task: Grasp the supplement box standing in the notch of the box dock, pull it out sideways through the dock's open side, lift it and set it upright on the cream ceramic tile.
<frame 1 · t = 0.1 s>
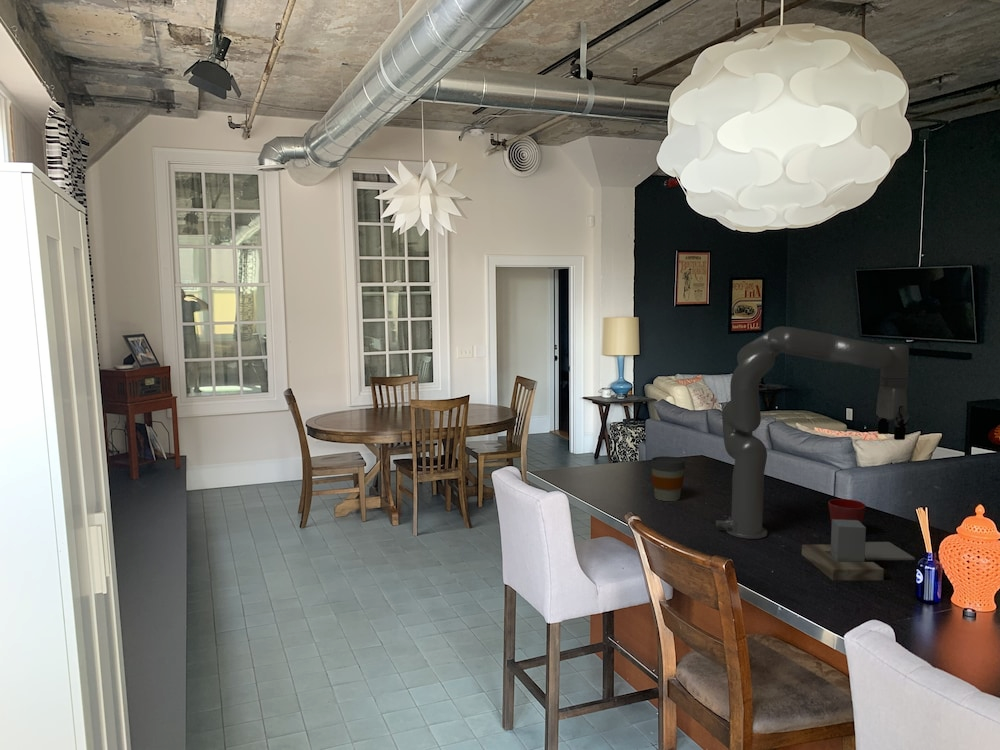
hand: (890, 436, 231), 31 cm above the counter, tool pointing down, fingers open, 9 cm apart
box dock: (846, 566, 205), on the counter
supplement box: (846, 567, 205), on the counter
reusable coffee cup: (667, 499, 275), on the counter
flower pot: (845, 533, 235), on the counter
tile: (877, 551, 217), on the counter
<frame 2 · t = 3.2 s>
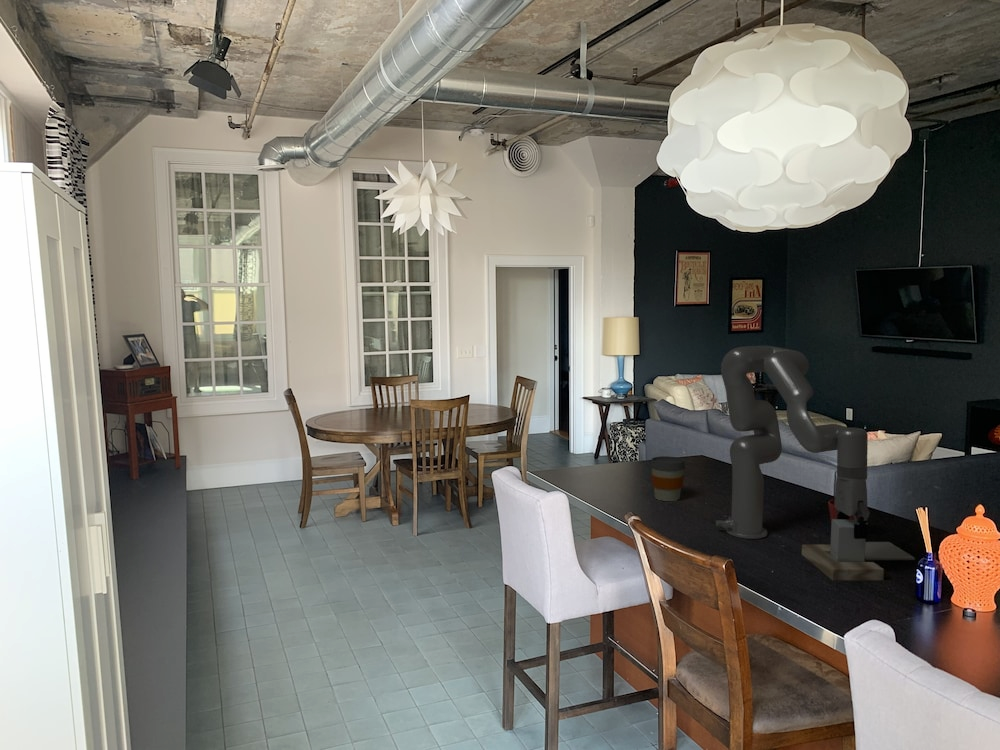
hand: (851, 533, 203), 10 cm above the counter, tool pointing down, fingers open, 9 cm apart
nothing on the counter moved.
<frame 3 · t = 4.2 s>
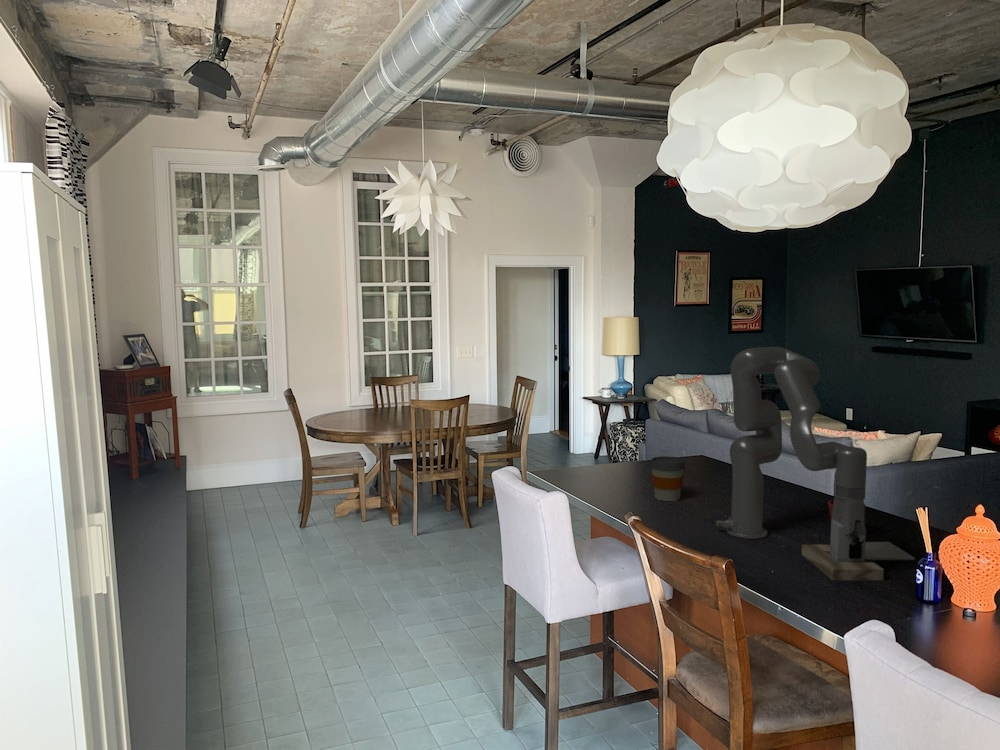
hand: (847, 552, 204), 4 cm above the counter, tool pointing down, fingers closed on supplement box, 8 cm apart
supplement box: (846, 567, 205), on the counter, touching gripper
everything else where it was.
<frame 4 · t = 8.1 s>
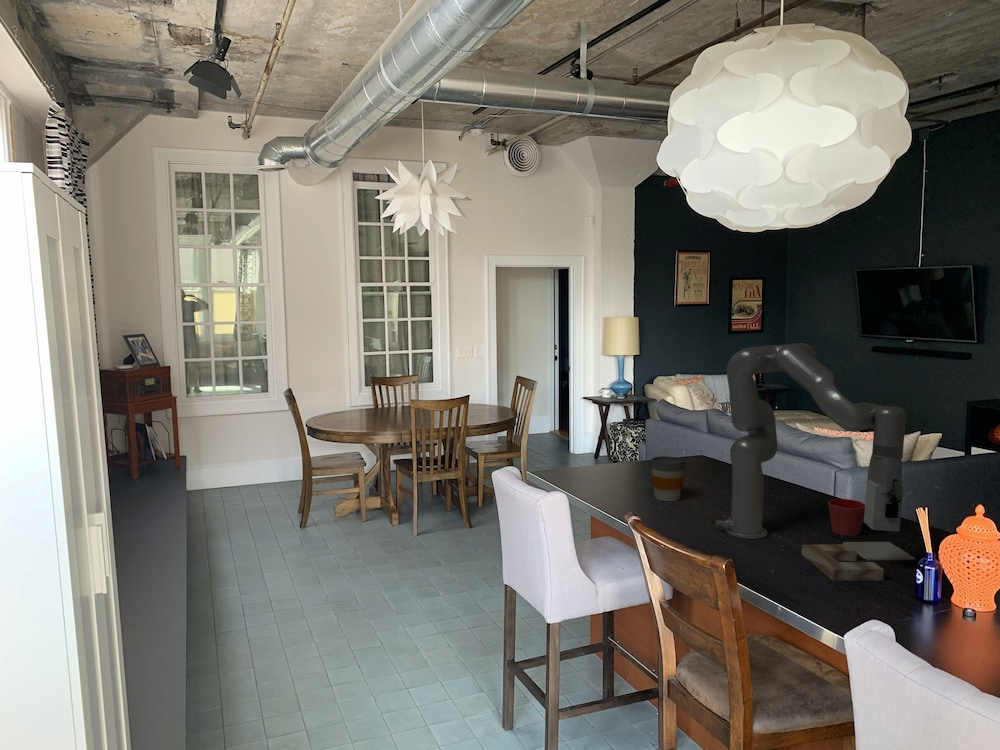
hand: (882, 512, 204), 15 cm above the counter, tool pointing down, fingers closed on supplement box, 8 cm apart
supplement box: (881, 527, 204), point 11 cm above the counter, touching gripper
everything else where it was.
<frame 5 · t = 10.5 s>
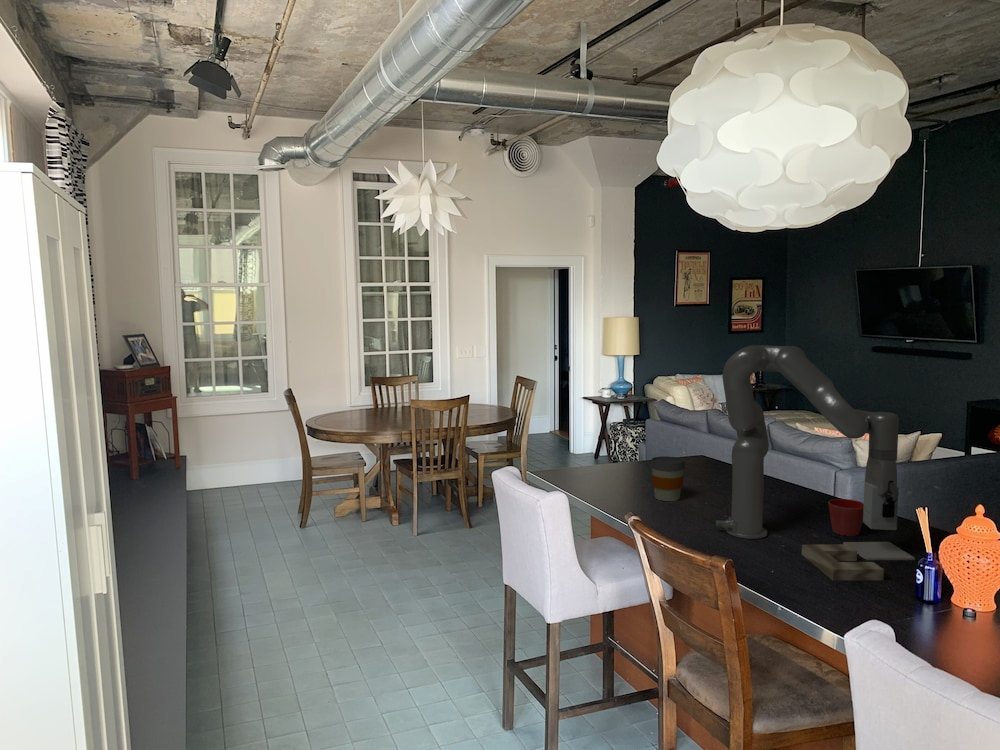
hand: (880, 512, 215), 12 cm above the counter, tool pointing down, fingers closed on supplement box, 8 cm apart
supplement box: (879, 526, 216), point 8 cm above the counter, touching gripper
everything else where it was.
when the fingers open (5 cm above the counter, at t = 12.3 s): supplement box stays where it is, resting on tile.
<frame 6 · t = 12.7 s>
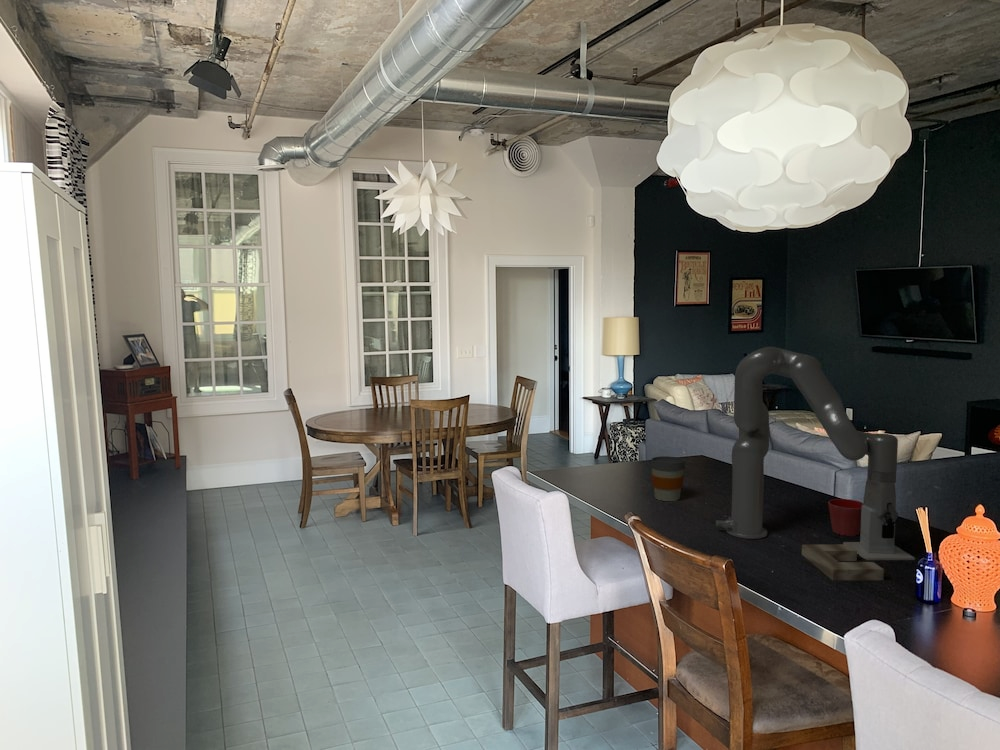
hand: (878, 532, 216), 6 cm above the counter, tool pointing down, fingers open, 9 cm apart
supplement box: (876, 550, 217), resting on tile
everything else where it was.
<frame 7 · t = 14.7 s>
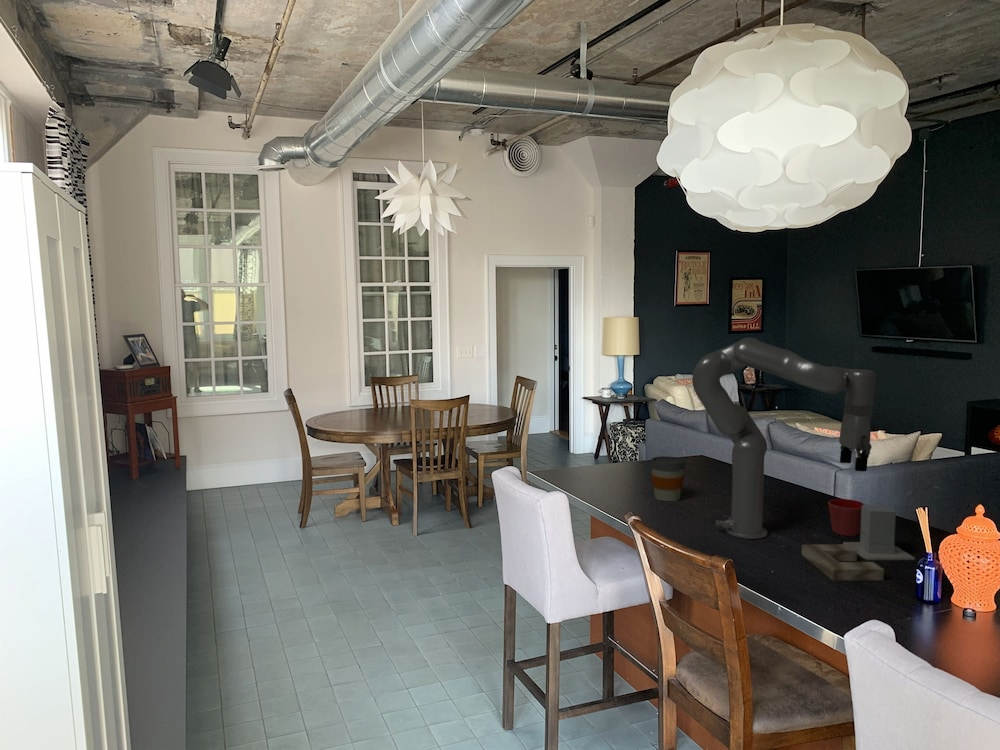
hand: (852, 466, 219), 25 cm above the counter, tool pointing down, fingers open, 9 cm apart
nothing on the counter moved.
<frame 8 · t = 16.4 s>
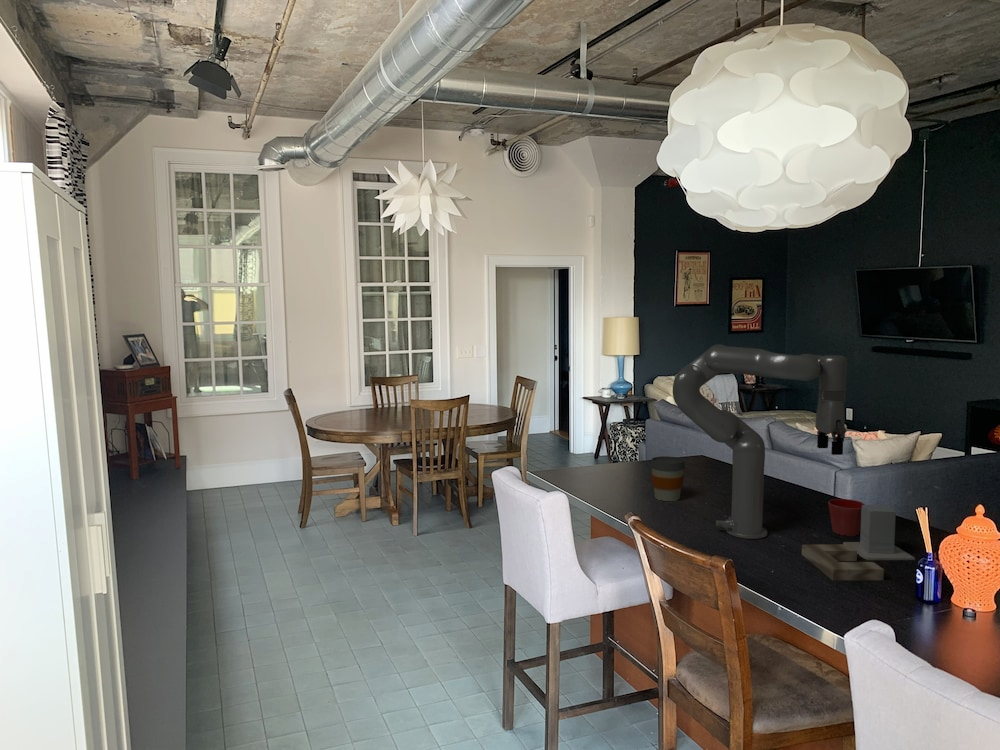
hand: (829, 451, 224), 28 cm above the counter, tool pointing down, fingers open, 9 cm apart
nothing on the counter moved.
at the end: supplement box inside the target area on the tile (0.4 cm from its centre), point 0.4 cm above the tile's base; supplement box tilted 0°; the gripper is holding nothing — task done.
